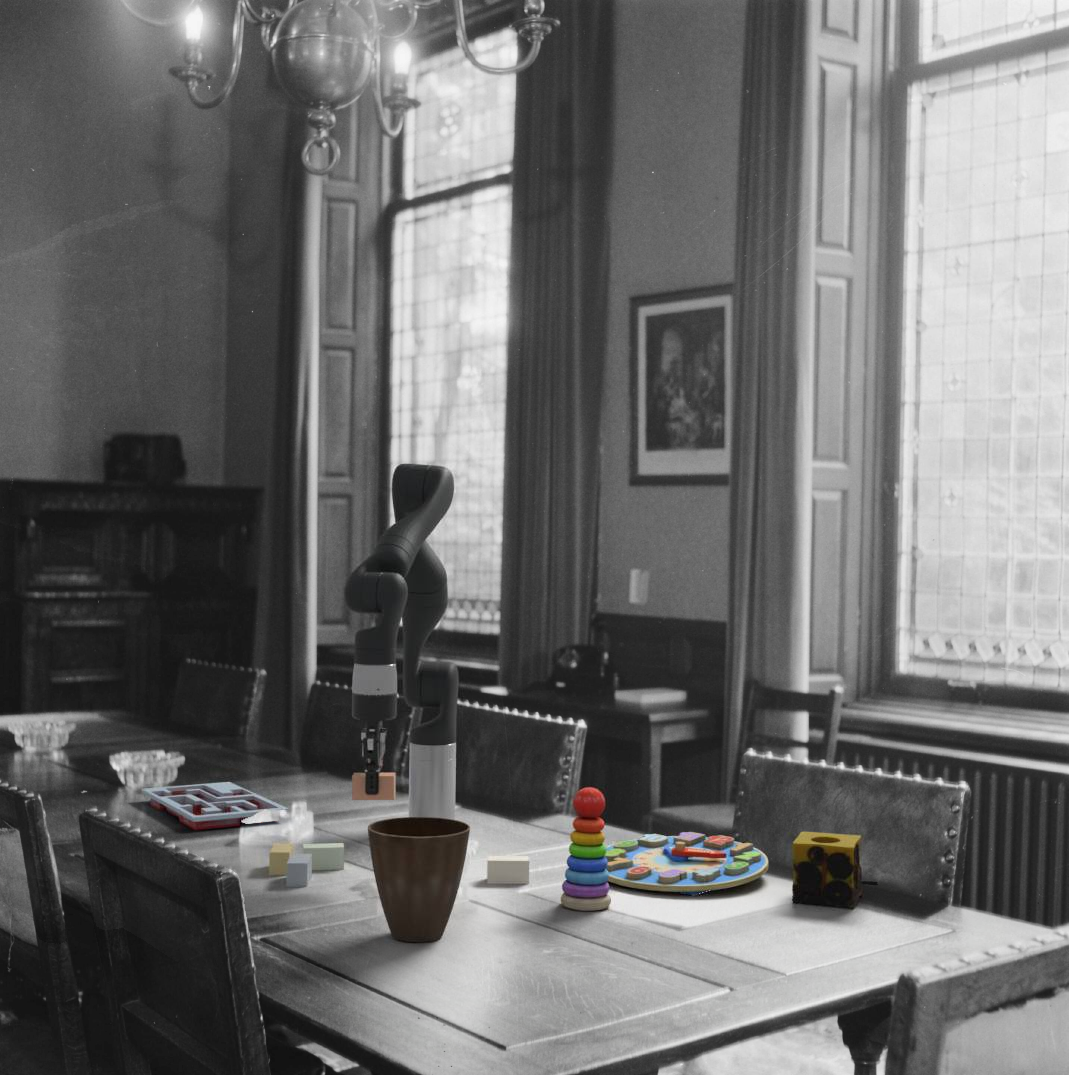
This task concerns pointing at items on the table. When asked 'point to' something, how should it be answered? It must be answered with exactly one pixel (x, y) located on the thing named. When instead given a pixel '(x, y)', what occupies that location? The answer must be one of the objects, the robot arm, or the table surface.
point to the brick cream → (508, 870)
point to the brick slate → (299, 870)
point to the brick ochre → (280, 858)
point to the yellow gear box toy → (827, 869)
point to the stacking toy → (587, 856)
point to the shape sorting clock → (684, 863)
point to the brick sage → (326, 855)
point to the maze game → (209, 804)
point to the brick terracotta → (384, 787)
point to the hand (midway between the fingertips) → (373, 791)
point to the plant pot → (418, 873)
